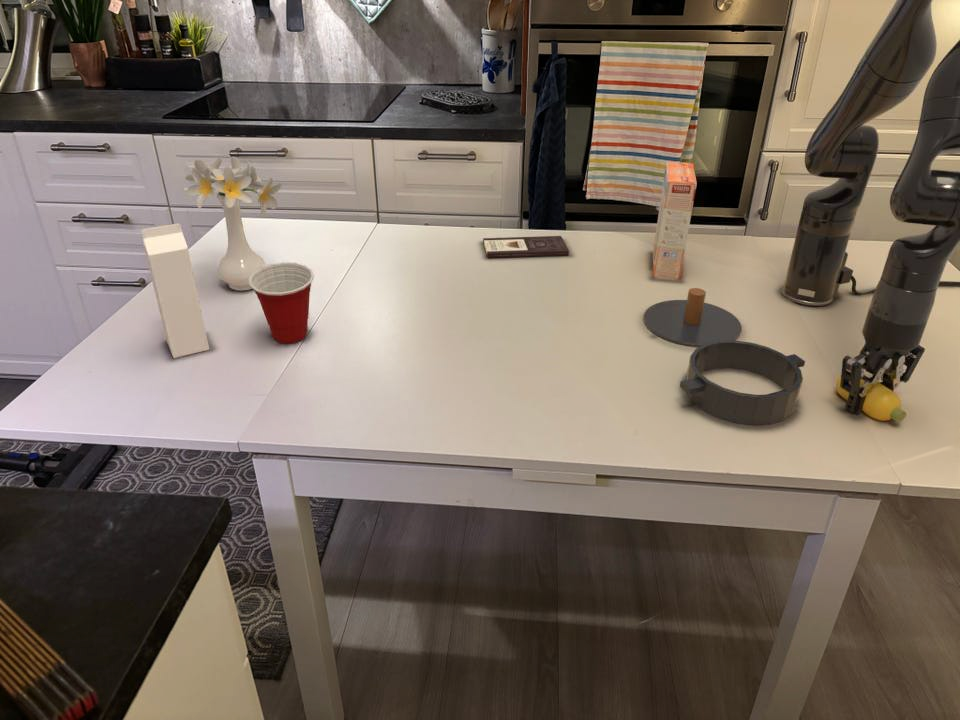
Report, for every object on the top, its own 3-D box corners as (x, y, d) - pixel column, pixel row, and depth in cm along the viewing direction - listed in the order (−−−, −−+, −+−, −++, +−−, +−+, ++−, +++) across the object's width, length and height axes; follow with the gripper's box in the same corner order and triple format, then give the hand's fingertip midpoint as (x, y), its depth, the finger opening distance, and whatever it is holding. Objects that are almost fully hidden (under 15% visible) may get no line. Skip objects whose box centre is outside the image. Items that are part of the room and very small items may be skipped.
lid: (625, 313, 140) (629, 279, 136) (701, 298, 145) (707, 265, 142) (679, 358, 126) (685, 321, 122) (761, 339, 132) (769, 303, 128)
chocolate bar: (568, 251, 163) (487, 253, 161) (568, 255, 163) (487, 257, 161) (560, 235, 170) (483, 238, 169) (560, 239, 171) (483, 242, 169)
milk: (209, 350, 127) (184, 229, 116) (172, 358, 125) (143, 236, 113) (202, 334, 132) (177, 217, 120) (166, 342, 129) (137, 223, 118)
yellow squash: (826, 393, 117) (833, 367, 114) (849, 387, 118) (857, 361, 116) (884, 433, 108) (894, 406, 105) (908, 426, 109) (918, 399, 107)
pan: (650, 384, 119) (654, 354, 116) (758, 358, 126) (765, 330, 123) (714, 442, 106) (721, 410, 103) (831, 410, 113) (840, 379, 110)
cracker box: (681, 282, 152) (698, 182, 141) (651, 279, 153) (665, 180, 142) (679, 255, 164) (694, 161, 153) (652, 253, 165) (665, 160, 154)
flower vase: (279, 301, 143) (260, 174, 130) (190, 294, 145) (163, 169, 132) (303, 273, 154) (288, 154, 141) (220, 267, 156) (198, 149, 143)
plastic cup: (255, 354, 126) (244, 291, 120) (261, 324, 135) (251, 264, 129) (320, 349, 127) (312, 287, 121) (321, 320, 137) (314, 260, 130)
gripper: (882, 331, 99) (849, 433, 108) (958, 313, 104) (920, 412, 113) (840, 307, 105) (811, 406, 114) (913, 291, 110) (881, 387, 119)
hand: (866, 408), depth 113 cm, fingers closed on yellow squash, 5 cm apart
